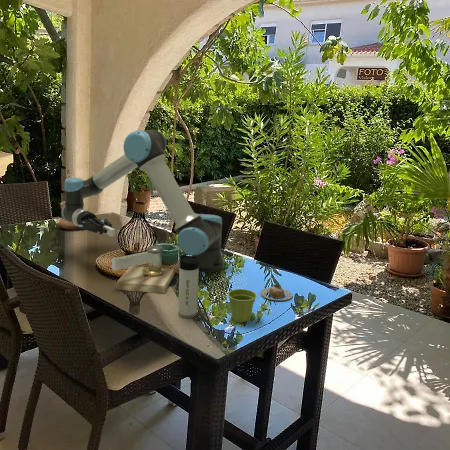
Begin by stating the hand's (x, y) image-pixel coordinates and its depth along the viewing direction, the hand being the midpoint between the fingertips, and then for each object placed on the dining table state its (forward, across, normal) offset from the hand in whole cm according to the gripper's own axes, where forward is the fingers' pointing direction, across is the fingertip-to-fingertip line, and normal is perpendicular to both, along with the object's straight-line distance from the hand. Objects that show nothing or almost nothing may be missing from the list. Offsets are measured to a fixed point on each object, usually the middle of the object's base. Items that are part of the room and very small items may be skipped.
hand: (113, 233), depth 176 cm
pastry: (+48, -41, -19) cm, 66 cm away
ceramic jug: (-80, -21, -20) cm, 85 cm away
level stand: (+10, -9, -19) cm, 23 cm away
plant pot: (+55, -17, -19) cm, 60 cm away
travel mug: (+41, -5, -19) cm, 46 cm away
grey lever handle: (+9, -6, -16) cm, 19 cm away
